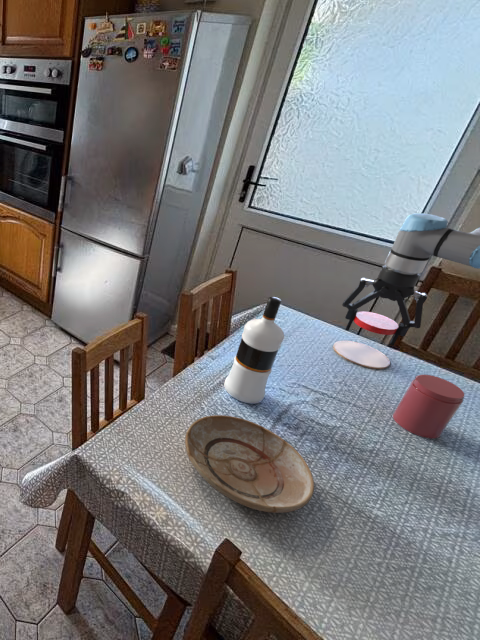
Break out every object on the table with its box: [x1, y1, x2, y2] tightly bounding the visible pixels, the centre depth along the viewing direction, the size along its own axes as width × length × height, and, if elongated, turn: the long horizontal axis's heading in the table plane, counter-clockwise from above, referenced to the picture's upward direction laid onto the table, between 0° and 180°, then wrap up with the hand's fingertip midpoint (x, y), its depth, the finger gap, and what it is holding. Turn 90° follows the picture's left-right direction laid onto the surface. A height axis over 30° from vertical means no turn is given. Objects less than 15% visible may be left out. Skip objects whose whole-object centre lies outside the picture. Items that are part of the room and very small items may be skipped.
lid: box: [353, 310, 399, 336], centre depth 121 cm, size 9×9×2 cm
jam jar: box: [392, 374, 465, 440], centre depth 99 cm, size 8×8×12 cm
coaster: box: [332, 339, 391, 370], centre depth 125 cm, size 13×13×1 cm
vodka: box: [223, 296, 285, 405], centre depth 106 cm, size 9×9×30 cm
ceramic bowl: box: [184, 414, 315, 514], centre depth 90 cm, size 23×24×5 cm
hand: (369, 335), depth 123 cm, fingers closed on lid, 9 cm apart
